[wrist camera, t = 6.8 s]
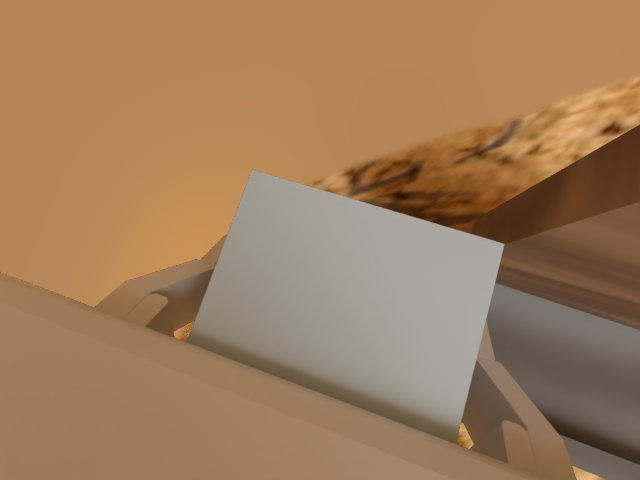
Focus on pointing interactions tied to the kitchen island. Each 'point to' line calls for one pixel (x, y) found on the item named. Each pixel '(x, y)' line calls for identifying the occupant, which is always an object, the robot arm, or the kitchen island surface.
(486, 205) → the kitchen island surface
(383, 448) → the robot arm
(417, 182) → the kitchen island surface
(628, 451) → the wall board
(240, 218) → the grey box with notch
